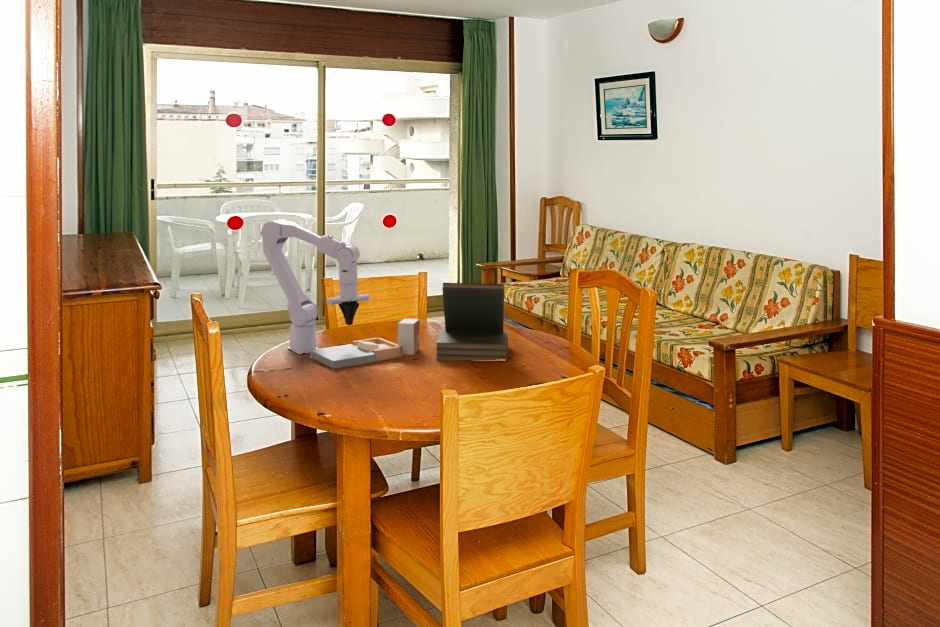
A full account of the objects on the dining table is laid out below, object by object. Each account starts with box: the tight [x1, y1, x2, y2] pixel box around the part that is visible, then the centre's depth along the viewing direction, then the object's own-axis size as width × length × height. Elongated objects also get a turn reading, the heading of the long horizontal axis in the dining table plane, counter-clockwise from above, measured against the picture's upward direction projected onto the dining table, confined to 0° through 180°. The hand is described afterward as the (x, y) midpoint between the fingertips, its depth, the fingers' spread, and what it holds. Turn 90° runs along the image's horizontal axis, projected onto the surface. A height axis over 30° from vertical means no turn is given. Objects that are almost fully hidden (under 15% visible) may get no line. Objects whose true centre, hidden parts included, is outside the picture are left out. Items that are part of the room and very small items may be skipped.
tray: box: [352, 337, 404, 362], centre depth 260 cm, size 15×10×4 cm, turn 37°
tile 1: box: [357, 340, 379, 351], centre depth 257 cm, size 5×5×2 cm
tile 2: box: [371, 344, 392, 352], centre depth 260 cm, size 5×5×2 cm
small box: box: [397, 318, 421, 356], centre depth 263 cm, size 8×6×10 cm
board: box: [309, 343, 377, 370], centre depth 252 cm, size 16×15×2 cm
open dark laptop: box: [435, 282, 509, 361], centre depth 260 cm, size 23×20×25 cm
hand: (349, 324), depth 257 cm, fingers closed
